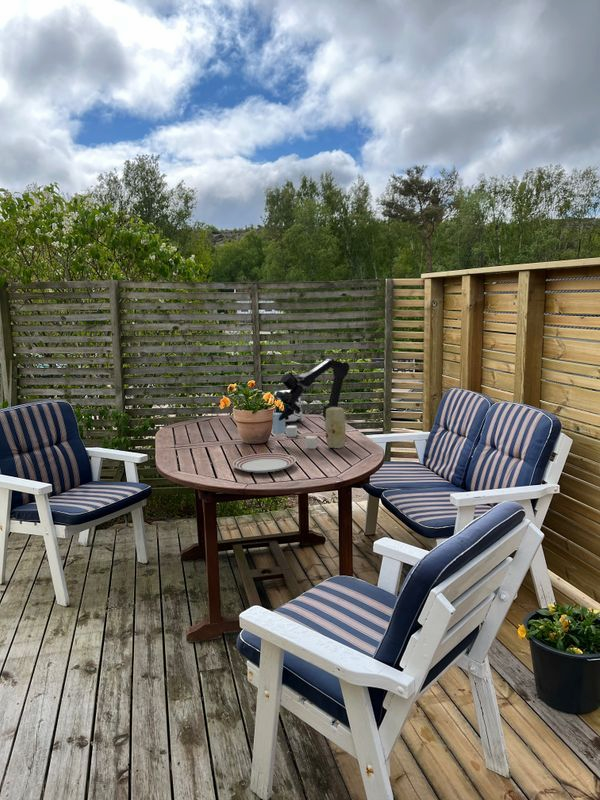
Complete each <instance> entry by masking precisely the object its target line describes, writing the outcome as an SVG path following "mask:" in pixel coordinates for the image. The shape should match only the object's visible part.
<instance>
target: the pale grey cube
mask: <svg viewBox="0 0 600 800" xmlns="http://www.w3.org/2000/svg"><path fill="white" fill-rule="evenodd" d="M285 431H286V433H285V437H286V436H288V438H289V437H290V438H295V437H297V436H296V435H298V426H297V425H287V426H285Z"/></svg>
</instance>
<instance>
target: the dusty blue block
mask: <svg viewBox="0 0 600 800" xmlns="http://www.w3.org/2000/svg"><path fill="white" fill-rule="evenodd" d="M281 414H282V413H281V412H278V413H274V412H273V413H272V433H273V434H276V435H284V434H286V423H285V418H284V419H282V420H281V421H280V420H279V418H280V416H281ZM273 416H274V417H273Z"/></svg>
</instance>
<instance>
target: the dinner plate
mask: <svg viewBox="0 0 600 800" xmlns="http://www.w3.org/2000/svg"><path fill="white" fill-rule="evenodd" d="M296 461H297V459H296V457H295V456H293V455H290V454H286V453H279V452H264V453H256V454H250V455H246V456H241V457H239V458H237V459H235V460H234V461H233V462H232V467H234V468H235V469H238V470H240V471H243V472H248V473H251V472H253V473H252V474H269V473H268V472H273V473H276V472H275V471H278V472H280V471H279V470H281V471H283V470H286V469H287V468H290V467H291V466H293V465H294V464H295V463H296Z"/></svg>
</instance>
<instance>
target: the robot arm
mask: <svg viewBox="0 0 600 800" xmlns="http://www.w3.org/2000/svg"><path fill="white" fill-rule="evenodd" d="M329 369H332V373H333V382H332V386H331V391H330V396H329V400H328V403H327V405H324V406H323V408H322V412H321V413H322V417H323V419H324V420H325V419H326V409H328V408H330V407H339V401H340V396H341V392H342V387H343V383H344V379H345V377H346V376H348V373H349V371H350V365H349V363H348V362H346V361H339V360H335V359H333V358H326V359H324V361H323V362H321V363H320V364H318V365H316V366H315V367H314V368H312V369H311V370H309V371H306V372H303V373H301V374H299V375H297V377H295V376H294V375H293V373H292V372H287V374H285V375H283V376H282V377H281V378H280V382H281V384H282V385H283V386H284V387H286V389H287V390H291V391H290V392H286V391H285V392H284V393H283V392H279V391H280V390H277V393H276V395H275V394H274V395H275V397H276V398H280V399H281V401H282V402H283V405H284V410H283V411H279V409H278V407H276V410H275V413H278V412H281V413H282V414H281V416H280V418H279V420H280V421H281V420H282V419H284V418H286V417H288V416H290V415H292V414H294V411H295V413H297V414H299V413H300V412H301V409H302V407H301V408H300V407H299V406H298V405H297V404H296V402H299V400H298V399H299V397H300V398H301V396H302V395H303V394H306V395H307V394H308V390H307V388H305V387H311V385H313V384H314V382H315V380H316V379H317V378H318V377H319V376H320V375H322V374H324V373H325V372H327V370H329ZM274 399H275V398H274ZM275 400H276V401H277V400H278V399H275Z"/></svg>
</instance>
